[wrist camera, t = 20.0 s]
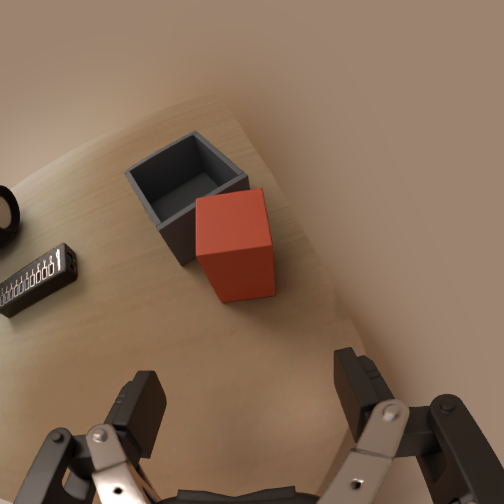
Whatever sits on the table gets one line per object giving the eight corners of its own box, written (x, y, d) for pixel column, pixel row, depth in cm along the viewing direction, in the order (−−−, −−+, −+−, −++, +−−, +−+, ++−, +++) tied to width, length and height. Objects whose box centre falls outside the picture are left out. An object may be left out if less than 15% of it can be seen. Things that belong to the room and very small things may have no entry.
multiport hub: (7, 292, 29) (-3, 285, 27) (74, 250, 31) (65, 241, 29) (7, 318, 27) (-4, 312, 25) (77, 279, 29) (66, 270, 27)
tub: (254, 218, 30) (248, 175, 25) (181, 266, 28) (158, 230, 23) (206, 169, 35) (195, 129, 29) (144, 207, 33) (123, 171, 27)
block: (275, 295, 26) (272, 245, 18) (221, 303, 26) (195, 256, 18) (267, 249, 28) (262, 187, 21) (218, 256, 28) (195, 198, 21)
